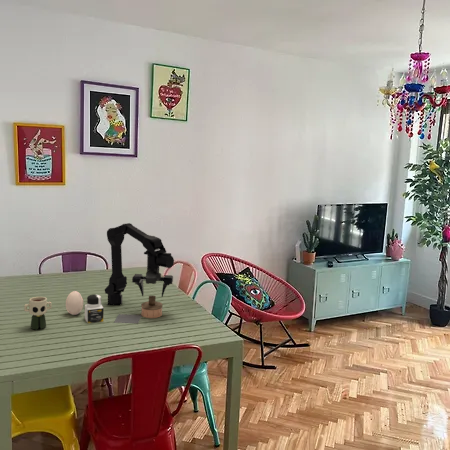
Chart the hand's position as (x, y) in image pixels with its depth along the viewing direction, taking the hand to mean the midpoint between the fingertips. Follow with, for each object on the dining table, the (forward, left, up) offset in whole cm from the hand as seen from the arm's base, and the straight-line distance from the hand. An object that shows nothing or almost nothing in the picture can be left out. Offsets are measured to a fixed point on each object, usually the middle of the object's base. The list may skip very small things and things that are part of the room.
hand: (152, 296), depth 218 cm
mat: (-10, -7, -10) cm, 16 cm away
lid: (0, 0, -5) cm, 5 cm away
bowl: (0, 0, -10) cm, 10 cm away
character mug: (-46, -21, -10) cm, 52 cm away
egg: (-36, -3, -10) cm, 38 cm away
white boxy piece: (-25, -10, -10) cm, 29 cm away
